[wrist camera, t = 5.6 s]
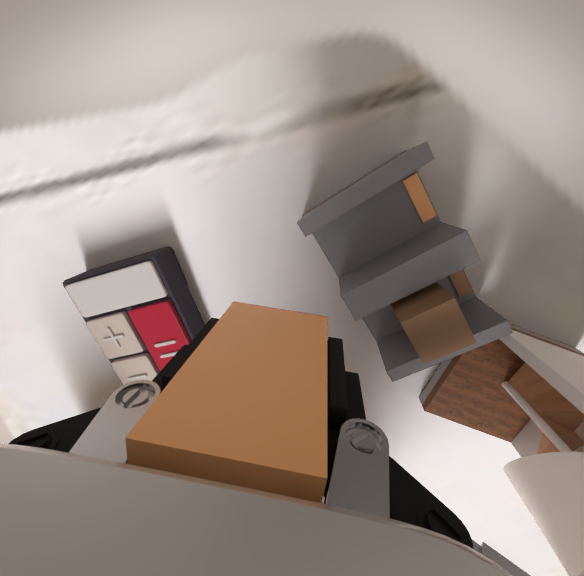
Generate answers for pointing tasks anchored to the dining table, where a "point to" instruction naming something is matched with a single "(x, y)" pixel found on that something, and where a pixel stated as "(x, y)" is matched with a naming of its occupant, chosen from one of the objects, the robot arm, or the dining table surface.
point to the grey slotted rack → (398, 256)
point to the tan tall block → (245, 406)
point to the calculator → (137, 311)
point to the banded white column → (527, 424)
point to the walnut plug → (433, 322)
